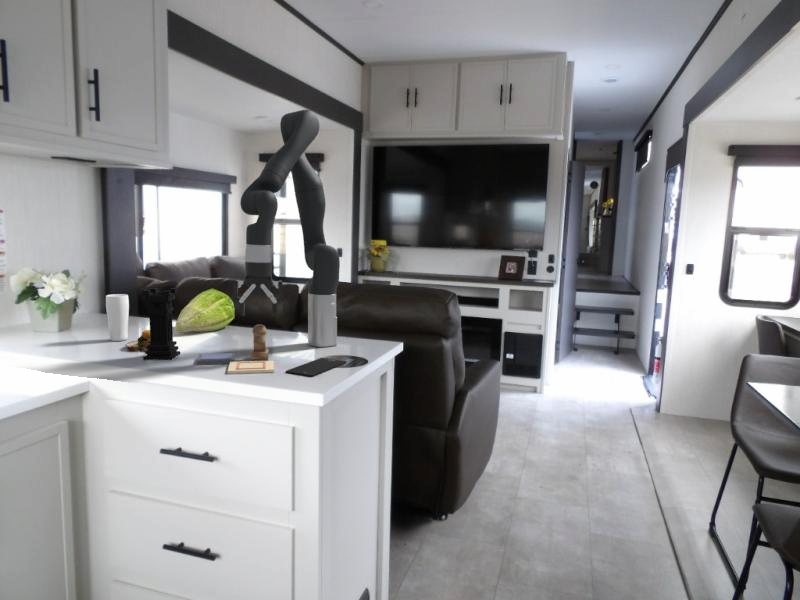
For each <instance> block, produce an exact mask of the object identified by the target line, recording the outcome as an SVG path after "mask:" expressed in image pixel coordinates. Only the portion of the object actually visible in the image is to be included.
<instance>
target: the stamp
mask: <svg viewBox="0 0 800 600" xmlns="http://www.w3.org/2000/svg"><path fill="white" fill-rule="evenodd" d="M252 334H253V348H252V349H250V361H269V348H266V346H267V345H266V334H267V328H266V326H265V325H263V324H261V323H260V324H259V323H258V324H255V325H254V326H253V328H252Z"/></svg>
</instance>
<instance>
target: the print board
mask: <svg viewBox="0 0 800 600" xmlns="http://www.w3.org/2000/svg"><path fill="white" fill-rule="evenodd" d="M274 372H275V360H268V361H251V360H249V361H248V360H246V361H244V360H243V361H235V362H230V364H228V369H227V375H232V374H233V375H236V374H238V375H239V374H261V373H262V374H265V373H266V374H267V373H274Z"/></svg>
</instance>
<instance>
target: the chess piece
mask: <svg viewBox="0 0 800 600" xmlns="http://www.w3.org/2000/svg"><path fill="white" fill-rule="evenodd" d="M177 293H178V289H177V287H176V288H175V287H172V288H169V290H163V291H162V292H161V291H158V287H151V288H149V289H144V290H142V296H144V303H145V302H146V303H148V309H147V314H149V315H148V316H149V330H150V344H149V345H147V348H149V349H148V350H146V351H145V352H144V356H143V357H142V360H143V361H172V359H173V360H174V359H175V358H177V357H178V356H179V355H181V351H180V350H179V346H178V345H177V341H176V340H175V341H174V335H173V334H174V333H173V332H174V329H173V311H174V310H175V307H174V306H173V305H172V304H173V301H174V300H176V294H177ZM176 356H177V357H176Z"/></svg>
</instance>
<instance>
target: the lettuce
mask: <svg viewBox="0 0 800 600" xmlns="http://www.w3.org/2000/svg"><path fill="white" fill-rule="evenodd" d="M234 319H235V305H234V301H233V299H232V298H231V297H230V296H229V295H228V294H226V293H224V292H222V291H219V290H217V289H215V288H210V289H207V290H204V291H202V292H201V293H199V294H197V295H196V296H195V297H194V298H192V299H191V300H190V301H189V302H188V304H186V306H184V308H182V310H181V311H180V314H179V315H178V317H177V320H176V322H175V328H176V330H177V331H178V332H180V333H188V332H189V333H190V332H199V333H200V332H201V333H203V332H213V331H218V330H222V329H223V328H225V327H226V326H228V325H229V324H230V323H231V322H232V321H233V320H234Z"/></svg>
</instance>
